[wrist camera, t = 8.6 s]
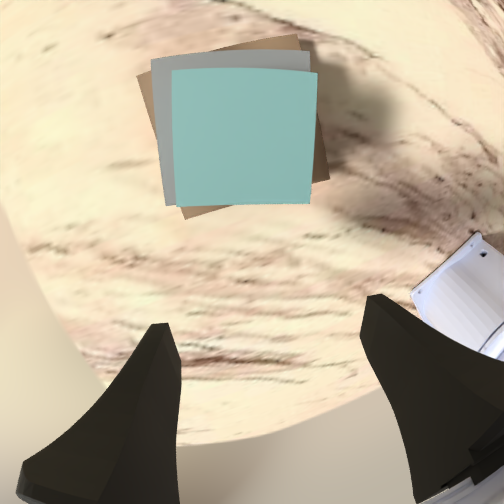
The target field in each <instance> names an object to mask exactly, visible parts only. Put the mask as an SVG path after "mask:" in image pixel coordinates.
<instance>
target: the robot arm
mask: <svg viewBox="0 0 504 504" xmlns="http://www.w3.org/2000/svg"><path fill="white" fill-rule="evenodd" d="M410 296H411V298H412V300H413V302H414V304H415V306H416V308H417V310H418V312H419V314H420V316H421V319H422V320H420V319H419V318H417V317H416V316H414V315H413V314H411V313H410V312H409V311H407V310H406V309H404V308H403V307H401V306H400V305H398V304H397V303H395V302H394V301H392V300H391V299H389V298H388V297H386V296H385V295H383V294H377V295H371V296H367V301H366V306H365V311H364V316H363V321H362V326H361V331H360V339H361V342H362V345H363V348H364V351H365V353H366V356H367V358H368V360H369V362H370V364H371V366H372V368H373V370H374V372H375V374H376V376H377V378H378V380H379V382H380V384H381V386H382V388H383V390H384V392H385V393H386V396H387V398H388V400H389V402H390V404H391V406H392V409H393V411H394V414H395V417H396V419H397V422H398V426H399V428H400V432H401V435H402V439H403V442H404V446H405V449H406V454H407V458H408V463H409V467H410V473H411V480H412V487H413V496H414V499H415V501H416V504H419V503H421V502H423V501H425V500H427V499H429V498H431V497H433V496H435V495H437V494H439V493H440V492H442V491H444V490H446V489H448V488H449V490H447V491H445V492H443V493H441V494H439V495H437V496H435V497H434V498H432V499H430V500H428V501H426V502H424V503H422V504H504V255H503V254H501V253H500V252H499V251H498V250H496V249H495V248H494V247H492V246H491V245H490V244H488V243H487V242H485V241H484V240H483V239H482V235H481V233H479V232H476V233H475V234H474V235H473V236H472V237H471V238H470V239H469V240H468V241H467V242H466V243H465V244H464V245H463V246H462V247H461V248H460V249H458V250H457V251H456V252H455V253H454V254H453V255H452V256H451V257H450V258H449V259H448V260H447V261H445V262H444V263H443V264H442V265H441V266H440V267H439V268H438V269H437V270H435V271H434V272H433V273H432V274H431V275H430V276H428V277H427V278H426V279H425V280H424V281H423V282H421V283H420V284H419V285H418V286H417V287H415V288H414V289H413V290H412V291H411V293H410ZM180 395H181V359H180V357H179V354H178V351H177V348H176V345H175V342H174V339H173V336H172V333H171V330H170V327H169V324H168V323H159V324H151V326H150V327H149V329H148V330H147V332H146V333H145V335H144V336H143V338H142V339H141V341H140V342H139V344H138V346H137V347H136V349H135V350H134V352H133V353H132V355H131V356H130V358H129V359H128V361H127V362H126V364H125V365H124V367H123V368H122V369H121V371H120V372H119V374H118V375H117V376H116V378H115V379H114V380H113V382H112V383H111V384H110V386H109V387H108V388H107V389H106V391H105V392H104V393H103V394H102V396H101V397H100V398H99V399H98V400H97V401H96V403H95V404H94V405H93V406H92V407H91V408H90V409H89V410H88V411H87V412H86V413H85V414H84V415H83V416H82V417H81V418H80V419H79V420H78V421H77V422H76V423H75V424H74V425H73V426H72V427H71V428H70V429H69V430H67V431H66V432H65V433H64V434H63V435H61V436H60V437H59V438H57V439H56V440H55V441H53V442H52V443H51V444H50V445H48V446H47V447H45V448H44V449H42V450H41V451H39V452H38V453H36V454H35V455H33V456H31V457H30V458H28V459H27V460H25V461H24V462H23V464H22V468H21V472H20V477H19V480H18V485H17V490H16V494H17V496H18V497H19V498H20V499H22V500H23V501H25V502H27V503H28V504H180V501H179V492H178V481H177V467H176V434H177V423H178V414H179V404H180Z"/></svg>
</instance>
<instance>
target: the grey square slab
mask: <svg viewBox="0 0 504 504" xmlns="http://www.w3.org/2000/svg"><path fill="white" fill-rule="evenodd" d="M200 68H263V69H281V70H293V71H304V72H311V71H310V51H302V50H275V49H253V50H227V51H212V52H201V53H192V54H183V55H176V56H169V57H163V58H157V59H151V74H152V89H153V102H154V114H155V124H156V134H157V143H158V152H159V160H160V168H161V175H162V183H163V190H164V197H165V203H166V206H170V205H176V193H175V177H174V159H173V135H172V70H183V69H200Z"/></svg>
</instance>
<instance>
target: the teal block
mask: <svg viewBox="0 0 504 504" xmlns="http://www.w3.org/2000/svg"><path fill="white" fill-rule="evenodd" d="M317 77H318V73H313V72H304V71H293V70H281V69H263V68H200V69H183V70H172V135H173V159H174V177H175V193H176V206H177V207H186V206H210V205H244V204H310V195H311V183H312V170H313V157H314V141H315V124H316V104H317Z"/></svg>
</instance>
